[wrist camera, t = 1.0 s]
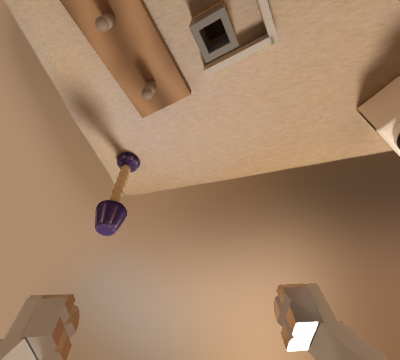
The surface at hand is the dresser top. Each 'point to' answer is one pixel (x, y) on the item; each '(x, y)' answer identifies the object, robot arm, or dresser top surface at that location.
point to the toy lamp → (115, 198)
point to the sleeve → (218, 44)
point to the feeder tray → (250, 47)
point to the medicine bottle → (385, 113)
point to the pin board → (131, 51)
